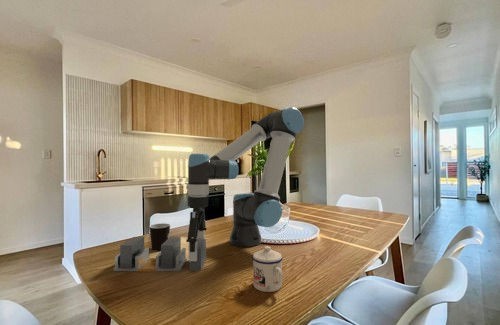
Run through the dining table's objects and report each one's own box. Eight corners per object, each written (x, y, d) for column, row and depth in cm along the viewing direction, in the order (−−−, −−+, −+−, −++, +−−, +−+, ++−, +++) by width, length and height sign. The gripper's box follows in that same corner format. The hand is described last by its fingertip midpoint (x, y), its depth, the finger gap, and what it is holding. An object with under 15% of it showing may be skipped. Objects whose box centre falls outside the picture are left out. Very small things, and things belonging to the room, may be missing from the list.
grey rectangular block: (205, 259, 96) (205, 239, 97) (200, 270, 86) (200, 247, 87) (195, 259, 96) (195, 239, 97) (189, 270, 86) (189, 247, 87)
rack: (187, 260, 95) (187, 236, 96) (179, 271, 85) (180, 245, 86) (127, 260, 95) (127, 236, 95) (112, 271, 85) (112, 245, 85)
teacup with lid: (247, 282, 78) (247, 245, 78) (271, 276, 82) (271, 240, 82) (268, 301, 67) (268, 257, 67) (294, 292, 72) (294, 252, 72)
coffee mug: (163, 252, 104) (163, 228, 104) (144, 251, 106) (145, 227, 106) (177, 244, 115) (177, 222, 115) (160, 242, 117) (160, 221, 117)
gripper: (195, 192, 104) (194, 243, 104) (178, 199, 79) (176, 267, 79) (213, 192, 104) (212, 243, 104) (201, 200, 79) (200, 267, 79)
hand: (196, 253), depth 91 cm, fingers open, 13 cm apart
